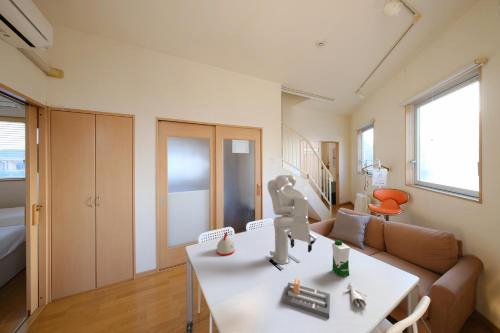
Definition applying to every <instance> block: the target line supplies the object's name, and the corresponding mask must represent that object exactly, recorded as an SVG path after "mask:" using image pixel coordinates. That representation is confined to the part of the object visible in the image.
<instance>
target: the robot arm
mask: <svg viewBox="0 0 500 333" xmlns="http://www.w3.org/2000/svg"><path fill="white" fill-rule="evenodd" d="M296 180H297V179H296V177H295V176H294V175H292V174H288V175H287V174H281V175H278V176H276V178H275V179H272V180H269V181H268V182H267V191H268V194H269V196H270V199H271V202H272V203H271V204H272V208H273V209H272V210H273V213H274V215H276V216H277V217H274V219H273V227H274V251H272V250H270V251H269V254H270V256H273V257H272V260H273V262H275V263H276V264H279V265H286V264H288V263H290V262H291V256H289V240H290V248H292V249H293V248H294V247H295V240H297V241H301V242H307V244H308V245H307V252H308V253H310V252H312V251H313V245H314V244H315V243H316V241H317V240H318V237H317V236H315V235H314V234H312V233H311V225H310V221H309V199H308V197H306V196H304V195H303V194H301V193H295V194H294V193H292V192H293V189H294V187H295V185H296V183H297V181H296ZM291 193H292V194H291ZM311 238H312V239H311Z"/></svg>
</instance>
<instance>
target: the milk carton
mask: <svg viewBox="0 0 500 333" xmlns="http://www.w3.org/2000/svg"><path fill="white" fill-rule="evenodd" d="M331 246H332V247H331V248H332V272H333V273H335V274H336V276H338V277H340V278H343V277H348V276H350V269H349V268H350V267H349V264H350V263H349V259H350V258H349V256H350V251H351V247H350V246H348V245H347V244H345V243H343V241H342V240H341V239H335V240H334V243H331Z"/></svg>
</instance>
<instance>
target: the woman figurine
mask: <svg viewBox="0 0 500 333" xmlns="http://www.w3.org/2000/svg"><path fill="white" fill-rule="evenodd" d="M347 285H348V286H347V287H348V289H345V291H342V293H343V294H345V293H346V292H351V294H350V295H351V302H352V305H353V306H355V305H356V307H358V308H360V306H361V308H363V309H365V308H366V306H367V303H366V301H365V299H363V297H362V296H361V295H363V296H364V297H367V296H368V295H367V294H364V293H362V292H361V291H359V290H356V288H355V287H354V286H353V283H351V282H349V283H348V284H347Z"/></svg>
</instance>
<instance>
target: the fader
mask: <svg viewBox="0 0 500 333" xmlns="http://www.w3.org/2000/svg"><path fill="white" fill-rule="evenodd" d="M293 284H294V291H293V293H295V294H298V295H299V294H300V286H301V279H296V278H295V279H294V281H293Z"/></svg>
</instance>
